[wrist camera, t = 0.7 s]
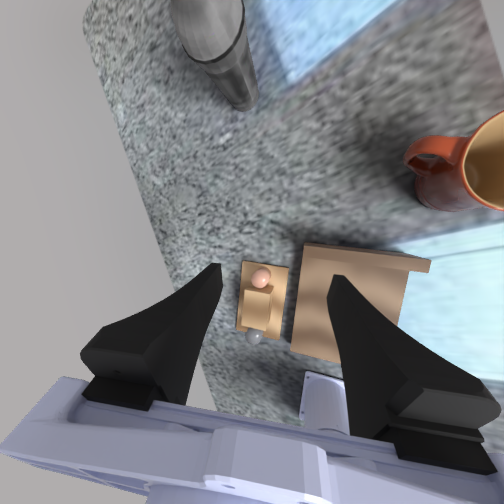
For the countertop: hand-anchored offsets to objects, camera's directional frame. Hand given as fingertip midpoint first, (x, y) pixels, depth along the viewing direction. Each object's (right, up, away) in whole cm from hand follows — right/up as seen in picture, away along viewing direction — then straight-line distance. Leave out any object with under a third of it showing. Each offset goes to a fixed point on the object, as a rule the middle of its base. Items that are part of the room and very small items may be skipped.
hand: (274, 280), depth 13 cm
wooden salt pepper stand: (0, -7, +22) cm, 23 cm away
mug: (+22, +11, +13) cm, 28 cm away
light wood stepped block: (+13, -6, +18) cm, 23 cm away
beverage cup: (-3, +27, +18) cm, 32 cm away
